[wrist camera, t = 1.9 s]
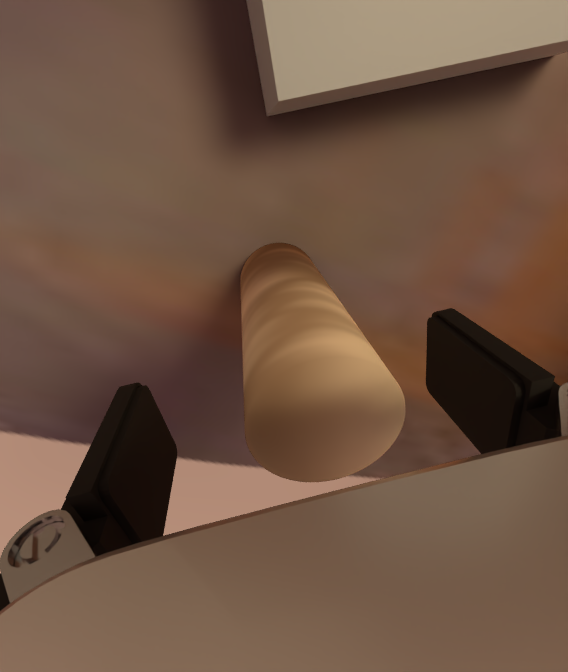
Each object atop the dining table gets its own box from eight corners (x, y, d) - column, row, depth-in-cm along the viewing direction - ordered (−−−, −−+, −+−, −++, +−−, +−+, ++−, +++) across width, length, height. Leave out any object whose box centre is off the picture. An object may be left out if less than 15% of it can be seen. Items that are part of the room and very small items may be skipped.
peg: (309, 235, 19) (404, 339, 8) (320, 307, 21) (406, 462, 10) (231, 252, 18) (225, 379, 8) (250, 322, 21) (264, 496, 10)
